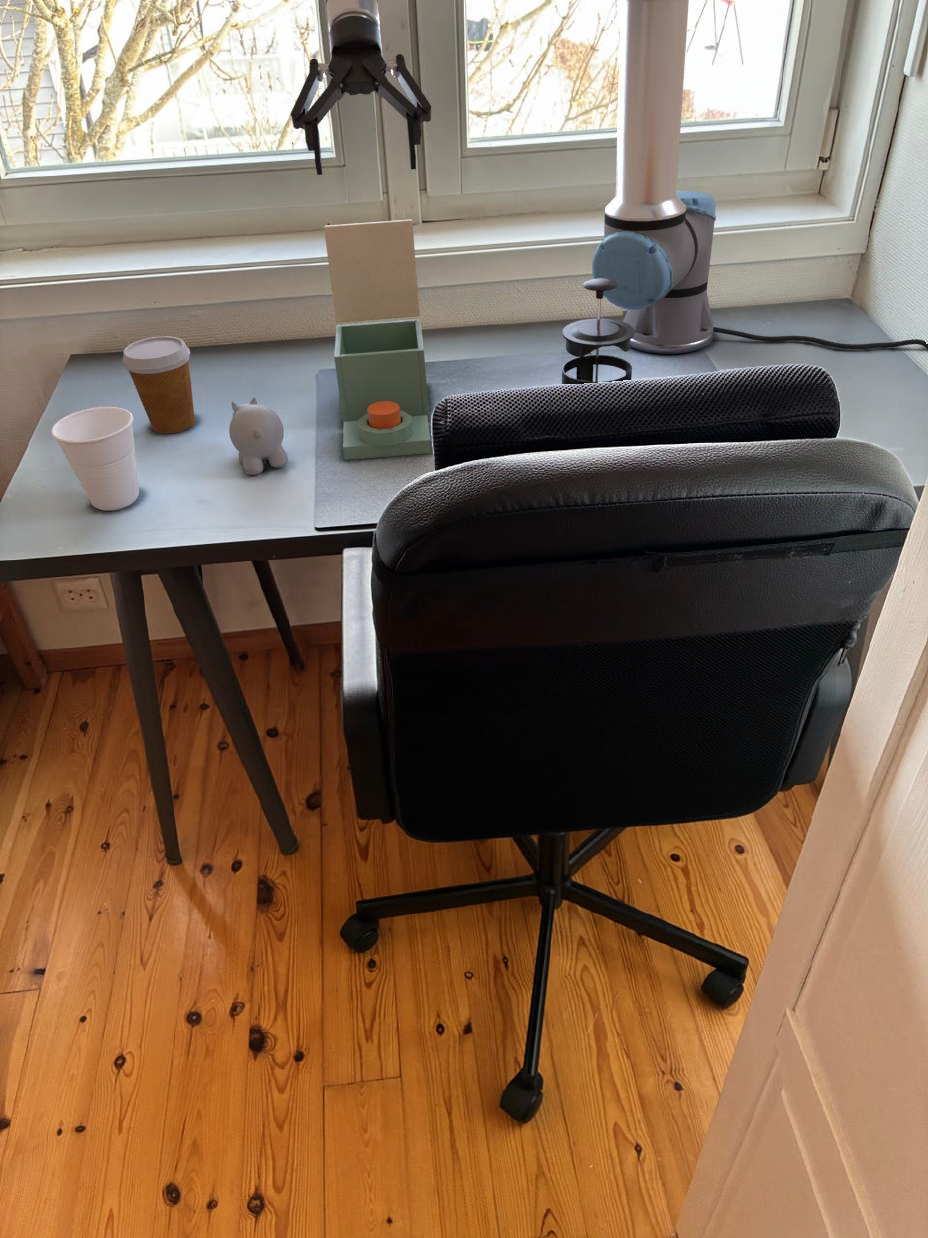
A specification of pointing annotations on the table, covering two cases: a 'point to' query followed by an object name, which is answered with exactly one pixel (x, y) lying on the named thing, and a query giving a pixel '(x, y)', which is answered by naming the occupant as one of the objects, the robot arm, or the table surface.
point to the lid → (372, 270)
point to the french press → (596, 341)
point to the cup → (101, 454)
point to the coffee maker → (381, 367)
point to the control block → (386, 438)
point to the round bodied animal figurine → (257, 436)
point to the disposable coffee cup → (162, 381)
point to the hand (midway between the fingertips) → (366, 166)
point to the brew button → (384, 415)
